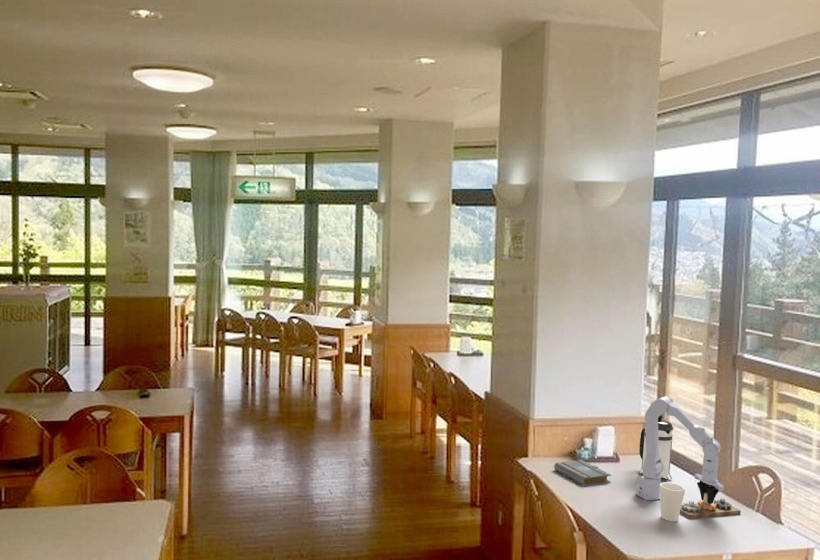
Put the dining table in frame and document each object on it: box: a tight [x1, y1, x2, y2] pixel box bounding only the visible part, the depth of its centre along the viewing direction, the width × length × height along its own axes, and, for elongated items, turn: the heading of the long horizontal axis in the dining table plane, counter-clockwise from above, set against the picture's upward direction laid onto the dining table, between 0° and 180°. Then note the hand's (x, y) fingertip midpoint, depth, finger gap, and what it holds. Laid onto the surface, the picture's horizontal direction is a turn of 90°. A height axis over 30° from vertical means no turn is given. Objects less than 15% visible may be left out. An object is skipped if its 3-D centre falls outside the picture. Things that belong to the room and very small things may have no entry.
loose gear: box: [697, 493, 716, 510], centre depth 286 cm, size 7×7×6 cm
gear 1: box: [682, 500, 701, 513], centre depth 284 cm, size 7×7×3 cm
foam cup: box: [659, 482, 686, 522], centre depth 277 cm, size 10×9×13 cm
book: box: [553, 459, 612, 487], centre depth 322 cm, size 21×16×5 cm
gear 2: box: [713, 498, 732, 510], centre depth 289 cm, size 7×7×3 cm
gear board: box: [679, 502, 741, 520], centre depth 287 cm, size 26×10×3 cm, turn 109°
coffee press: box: [638, 414, 675, 480], centre depth 327 cm, size 17×16×30 cm
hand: (707, 501), depth 286 cm, fingers closed on loose gear, 3 cm apart
